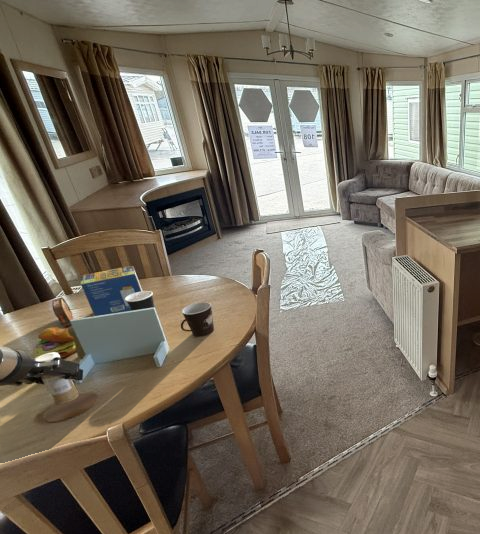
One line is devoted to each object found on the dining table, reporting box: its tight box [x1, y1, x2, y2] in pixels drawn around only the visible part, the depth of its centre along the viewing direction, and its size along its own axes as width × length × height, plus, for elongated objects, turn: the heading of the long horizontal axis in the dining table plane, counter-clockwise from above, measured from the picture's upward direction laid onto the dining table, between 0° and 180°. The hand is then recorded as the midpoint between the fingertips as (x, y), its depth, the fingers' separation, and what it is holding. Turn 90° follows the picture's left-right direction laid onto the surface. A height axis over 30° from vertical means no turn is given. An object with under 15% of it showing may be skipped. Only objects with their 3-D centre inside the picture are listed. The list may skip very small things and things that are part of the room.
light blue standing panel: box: [70, 306, 170, 385], centre depth 102 cm, size 20×10×16 cm, turn 114°
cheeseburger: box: [34, 326, 77, 359], centre depth 109 cm, size 10×11×10 cm
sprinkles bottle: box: [34, 352, 80, 405], centre depth 86 cm, size 5×5×13 cm
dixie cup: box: [125, 290, 155, 311], centre depth 126 cm, size 8×8×11 cm
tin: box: [51, 296, 74, 327], centre depth 125 cm, size 15×3×8 cm, turn 46°
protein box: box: [80, 265, 143, 316], centre depth 133 cm, size 10×15×16 cm
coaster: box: [43, 391, 99, 423], centre depth 90 cm, size 10×10×1 cm
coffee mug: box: [180, 301, 215, 338], centre depth 119 cm, size 12×9×10 cm
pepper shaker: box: [68, 325, 86, 360], centre depth 108 cm, size 6×6×11 cm
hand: (68, 377), depth 90 cm, fingers closed on sprinkles bottle, 4 cm apart
